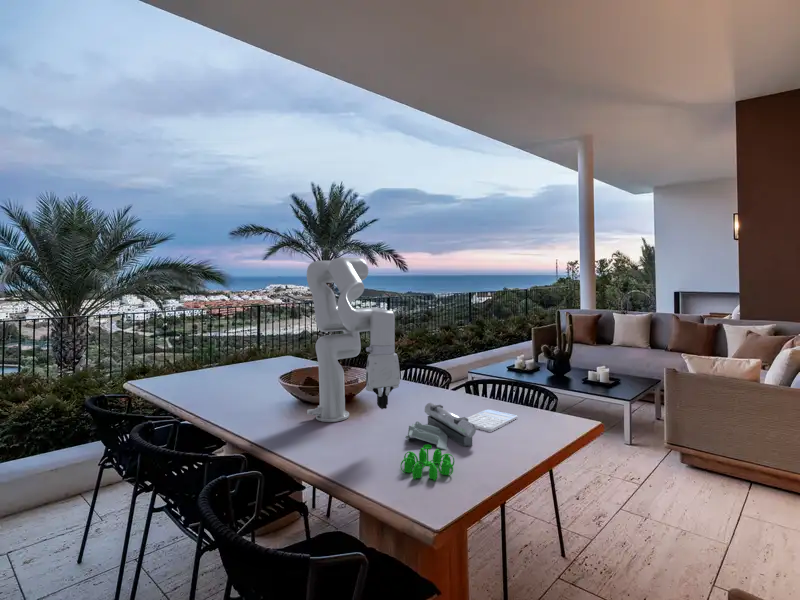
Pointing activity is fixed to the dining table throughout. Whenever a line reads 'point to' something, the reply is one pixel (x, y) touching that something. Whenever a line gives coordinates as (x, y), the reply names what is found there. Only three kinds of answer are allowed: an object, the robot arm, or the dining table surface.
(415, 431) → the metal bracket
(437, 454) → the chandelier
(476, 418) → the calculator
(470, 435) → the pipe mount
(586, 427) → the dining table surface
